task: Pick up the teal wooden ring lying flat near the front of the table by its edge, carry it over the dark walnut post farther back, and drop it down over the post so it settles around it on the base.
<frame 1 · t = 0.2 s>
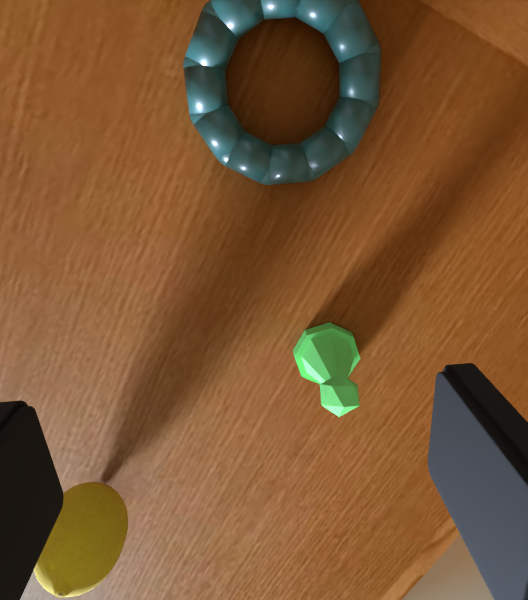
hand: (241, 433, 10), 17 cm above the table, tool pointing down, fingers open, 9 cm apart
game piece: (324, 350, 29), on the table
lemon: (102, 484, 33), on the table
ring: (283, 84, 22), point 1 cm above the table
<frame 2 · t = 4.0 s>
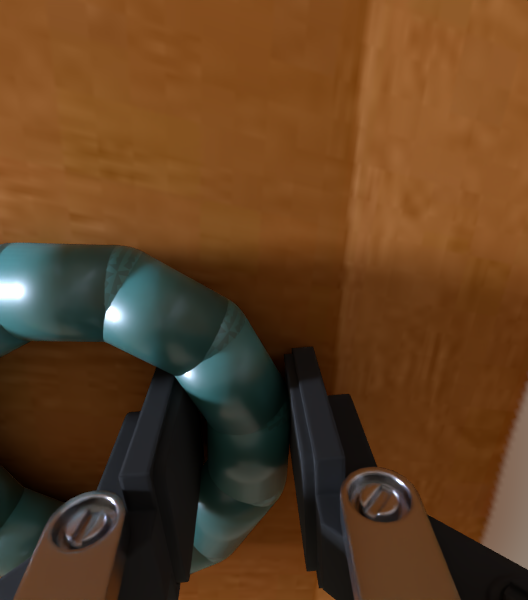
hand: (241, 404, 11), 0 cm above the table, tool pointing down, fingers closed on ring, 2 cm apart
ring: (90, 439, 10), point 1 cm above the table, touching gripper
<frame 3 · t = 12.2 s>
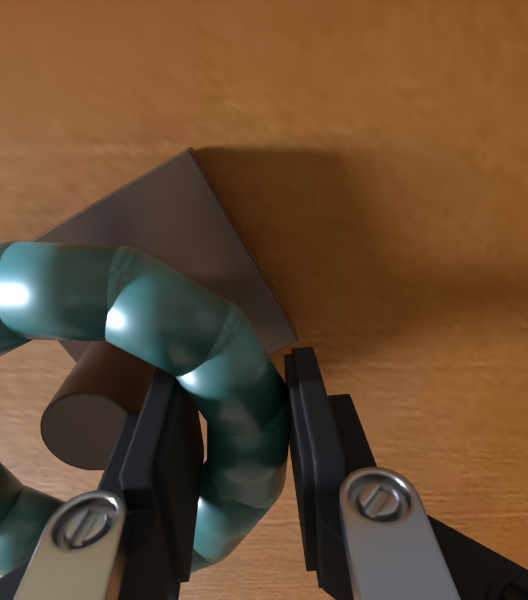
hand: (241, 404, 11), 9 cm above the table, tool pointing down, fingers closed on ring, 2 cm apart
post: (158, 293, 19), on the table
ring: (90, 438, 11), point 9 cm above the table, touching gripper
when the fingers open (11 cm above the table, at t = 17.4 s): ring drops 10 cm, resting on post.
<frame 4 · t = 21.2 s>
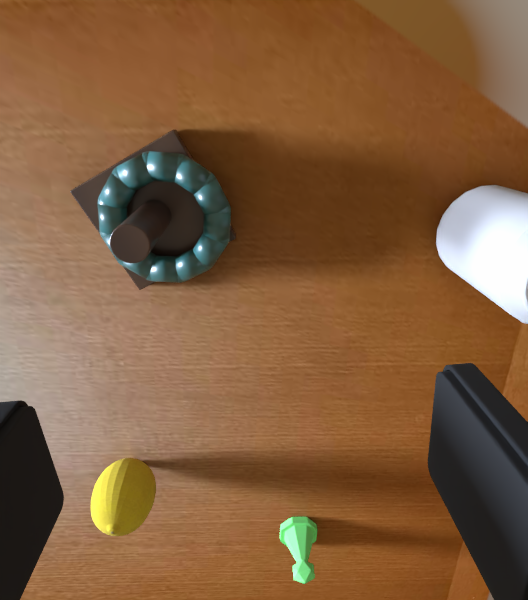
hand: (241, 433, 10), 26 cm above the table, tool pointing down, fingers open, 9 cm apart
game piece: (297, 528, 49), on the table
post: (158, 212, 34), on the table
lemon: (135, 461, 44), on the table
ring: (165, 220, 32), point 2 cm above the table, touching post
can: (475, 229, 36), on the table
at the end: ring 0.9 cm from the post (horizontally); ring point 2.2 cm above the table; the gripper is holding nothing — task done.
